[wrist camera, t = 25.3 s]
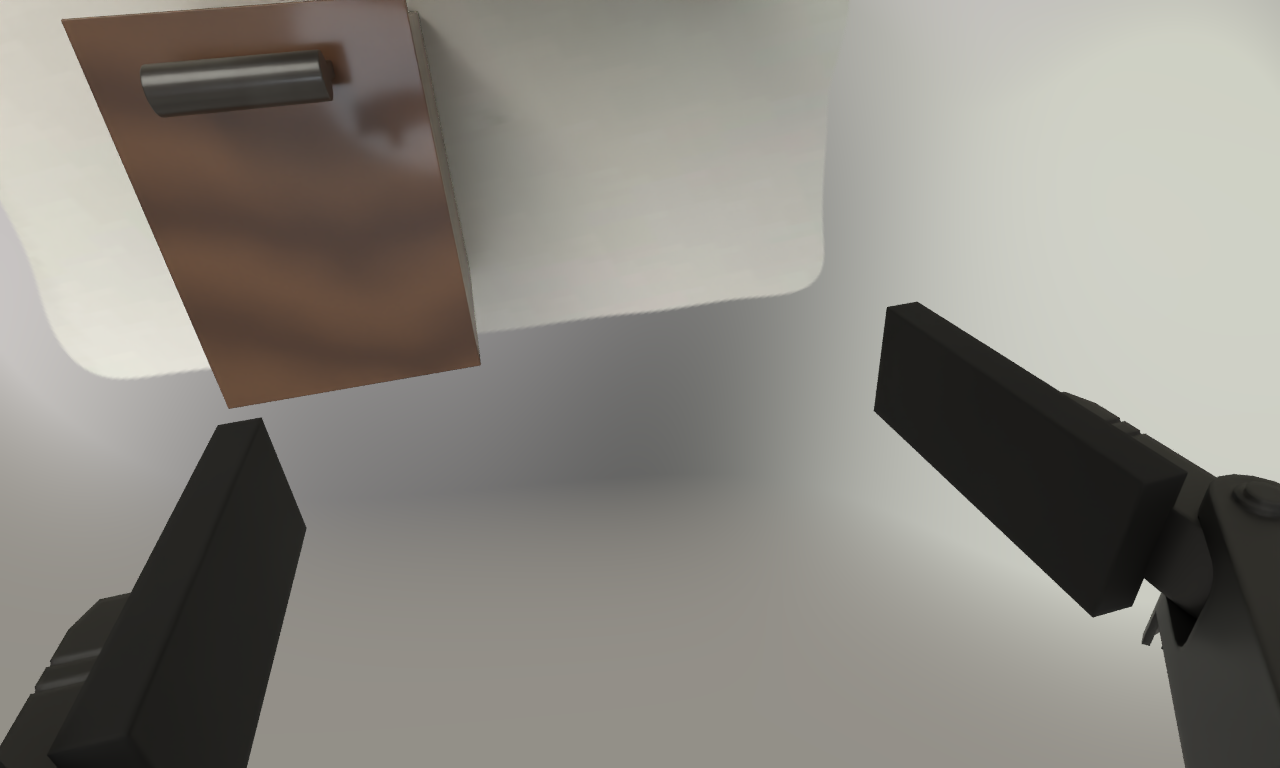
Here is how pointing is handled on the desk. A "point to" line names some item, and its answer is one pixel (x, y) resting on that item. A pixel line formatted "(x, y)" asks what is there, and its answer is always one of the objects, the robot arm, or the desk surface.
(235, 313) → the box lid
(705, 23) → the desk surface
